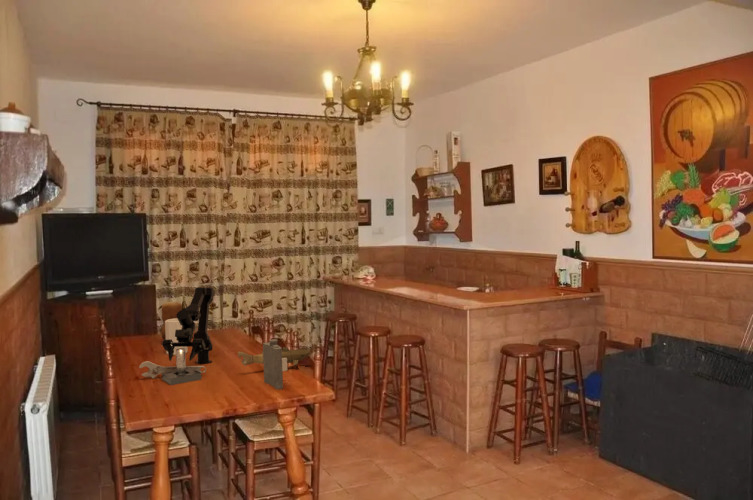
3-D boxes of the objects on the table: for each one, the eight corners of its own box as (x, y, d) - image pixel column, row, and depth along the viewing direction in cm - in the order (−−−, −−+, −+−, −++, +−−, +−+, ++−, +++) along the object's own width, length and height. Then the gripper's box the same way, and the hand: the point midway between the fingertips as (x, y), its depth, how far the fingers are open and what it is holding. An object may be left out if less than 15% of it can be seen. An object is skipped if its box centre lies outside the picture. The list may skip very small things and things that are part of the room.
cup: (161, 354, 324) (160, 321, 323) (175, 350, 335) (174, 317, 334) (178, 356, 320) (176, 322, 319) (191, 351, 330) (190, 318, 329)
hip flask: (263, 381, 266) (261, 337, 265) (271, 380, 268) (270, 336, 267) (277, 390, 252) (275, 343, 251) (286, 388, 255) (284, 342, 253)
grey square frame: (162, 379, 273) (161, 373, 273) (191, 374, 282) (191, 367, 281) (170, 385, 264) (170, 378, 263) (201, 379, 272) (201, 372, 272)
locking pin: (177, 378, 274) (176, 348, 273) (186, 377, 275) (185, 348, 274) (176, 381, 270) (175, 350, 269) (185, 380, 271) (184, 349, 270)
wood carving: (236, 372, 282) (235, 349, 281) (307, 364, 296) (306, 341, 295) (240, 377, 274) (239, 353, 273) (313, 368, 288) (312, 345, 287)
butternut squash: (176, 339, 365) (175, 299, 363) (190, 341, 357) (188, 300, 355) (157, 343, 353) (155, 302, 352) (170, 346, 346) (168, 303, 344)
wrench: (205, 378, 285) (138, 379, 272) (204, 377, 287) (138, 378, 274) (206, 361, 285) (140, 362, 272) (206, 360, 287) (139, 361, 274)
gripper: (162, 322, 275) (154, 351, 265) (202, 321, 275) (195, 350, 265) (169, 335, 284) (161, 364, 273) (208, 335, 283) (201, 363, 273)
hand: (179, 360), depth 271 cm, fingers open, 9 cm apart
